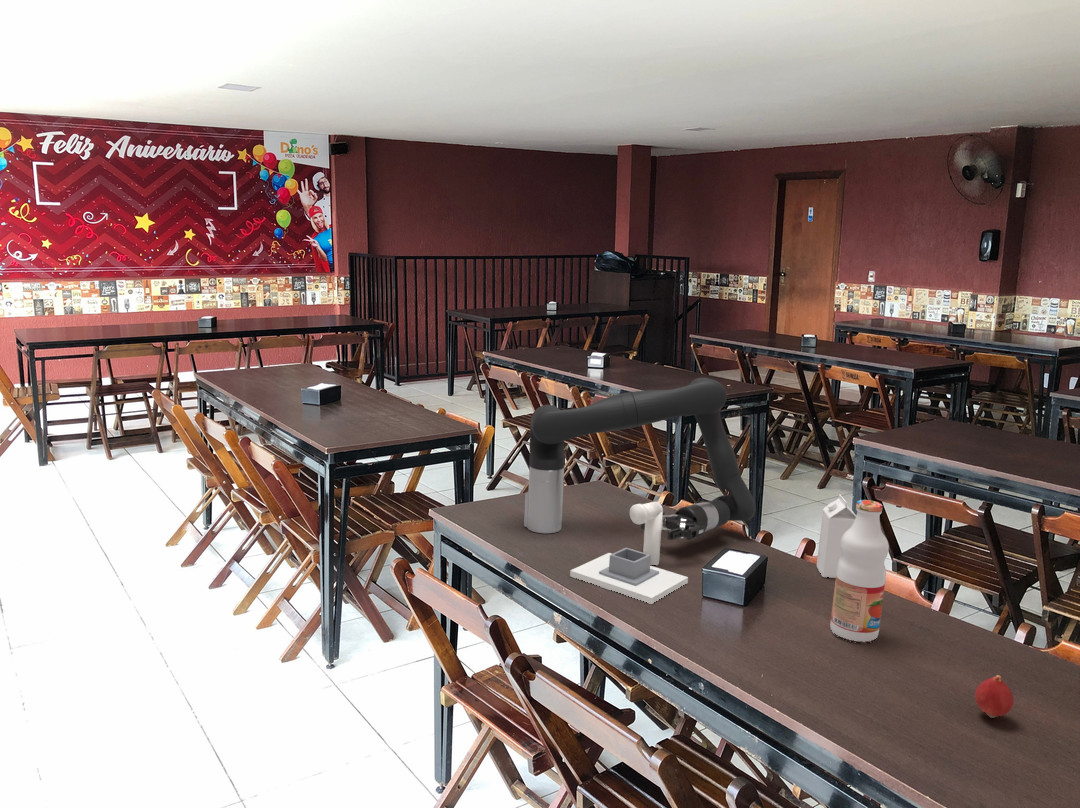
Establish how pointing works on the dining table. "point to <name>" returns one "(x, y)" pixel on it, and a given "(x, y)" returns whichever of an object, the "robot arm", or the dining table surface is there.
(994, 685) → the onion
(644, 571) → the duct
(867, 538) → the fruit juice
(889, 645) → the dining table surface
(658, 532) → the elbow
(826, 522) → the milk carton
